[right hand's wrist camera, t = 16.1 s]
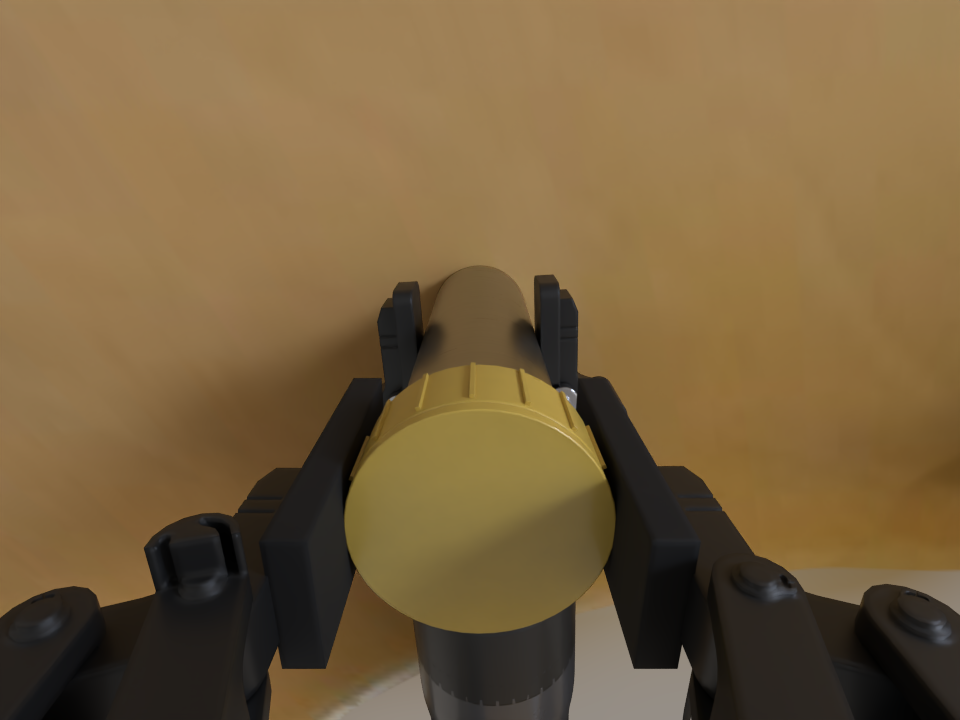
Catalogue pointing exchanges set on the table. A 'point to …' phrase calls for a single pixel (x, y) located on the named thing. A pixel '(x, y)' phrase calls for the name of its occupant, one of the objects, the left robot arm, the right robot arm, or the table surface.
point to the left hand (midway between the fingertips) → (475, 284)
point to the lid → (479, 502)
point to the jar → (479, 326)
